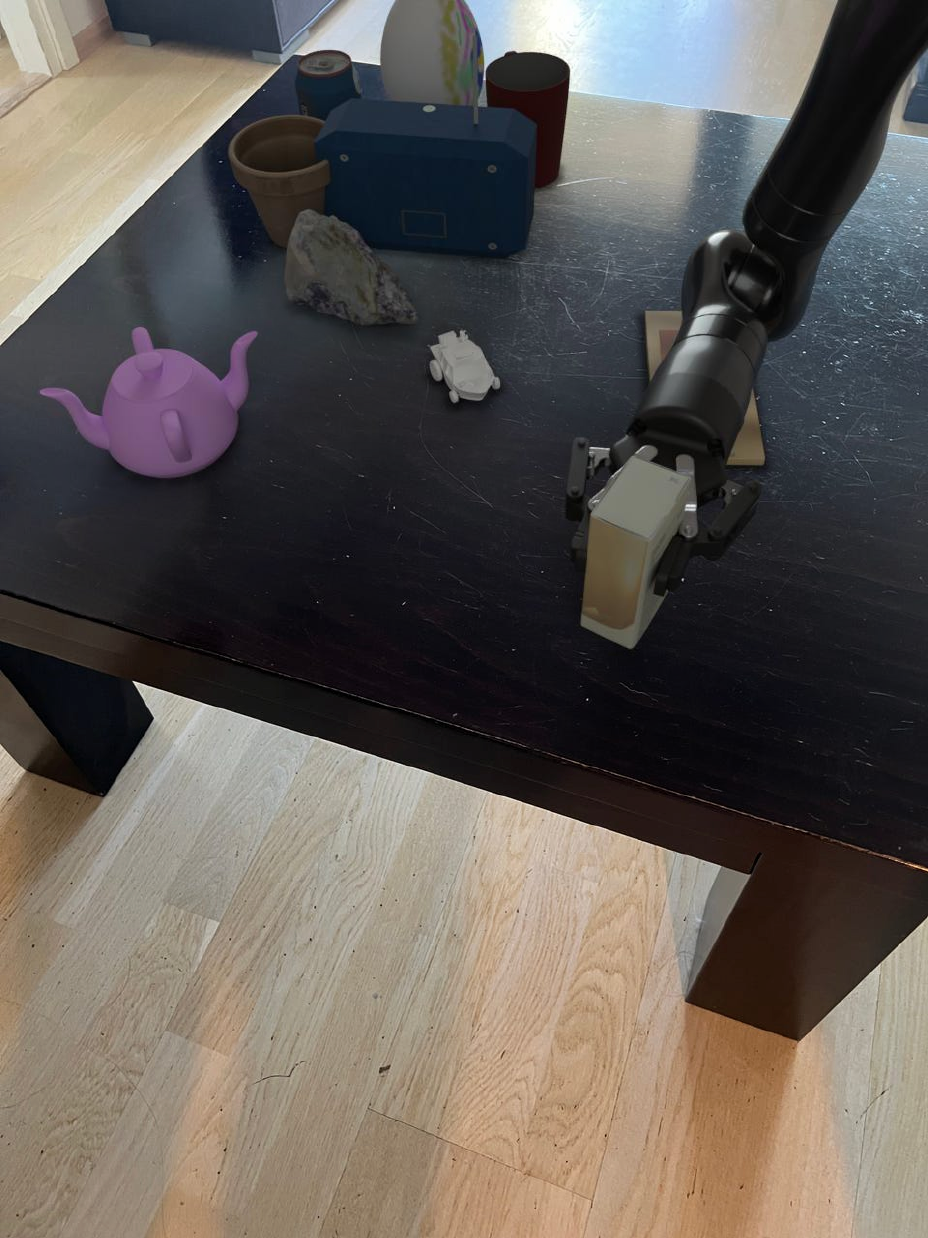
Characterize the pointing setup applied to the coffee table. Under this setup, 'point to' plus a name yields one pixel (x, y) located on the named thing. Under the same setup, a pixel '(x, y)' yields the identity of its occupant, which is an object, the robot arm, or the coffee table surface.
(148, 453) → the teapot
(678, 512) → the cosmetic box
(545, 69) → the mug
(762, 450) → the word board
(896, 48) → the robot arm
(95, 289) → the coffee table surface
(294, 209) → the flower pot
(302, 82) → the soda can
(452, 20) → the decorative egg
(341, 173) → the radio
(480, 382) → the toy car
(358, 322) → the mineral rock
